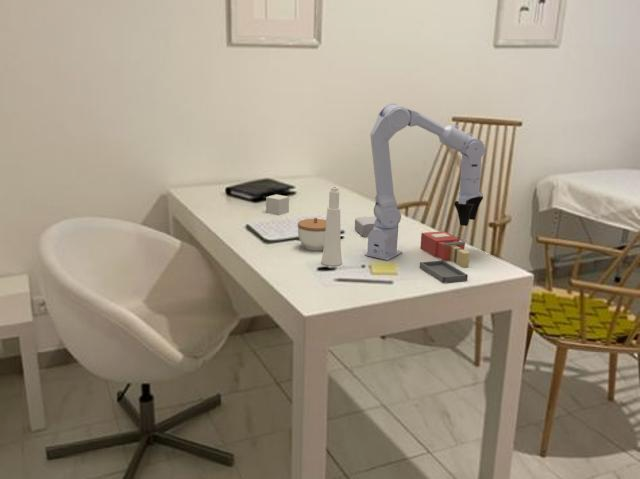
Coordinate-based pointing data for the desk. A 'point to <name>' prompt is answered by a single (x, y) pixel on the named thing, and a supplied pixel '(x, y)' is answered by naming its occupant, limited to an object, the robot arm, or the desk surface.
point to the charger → (364, 225)
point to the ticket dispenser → (439, 244)
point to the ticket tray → (443, 271)
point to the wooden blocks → (459, 256)
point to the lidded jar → (312, 233)
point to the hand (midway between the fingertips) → (467, 222)
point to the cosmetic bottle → (332, 231)
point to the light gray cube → (277, 204)
